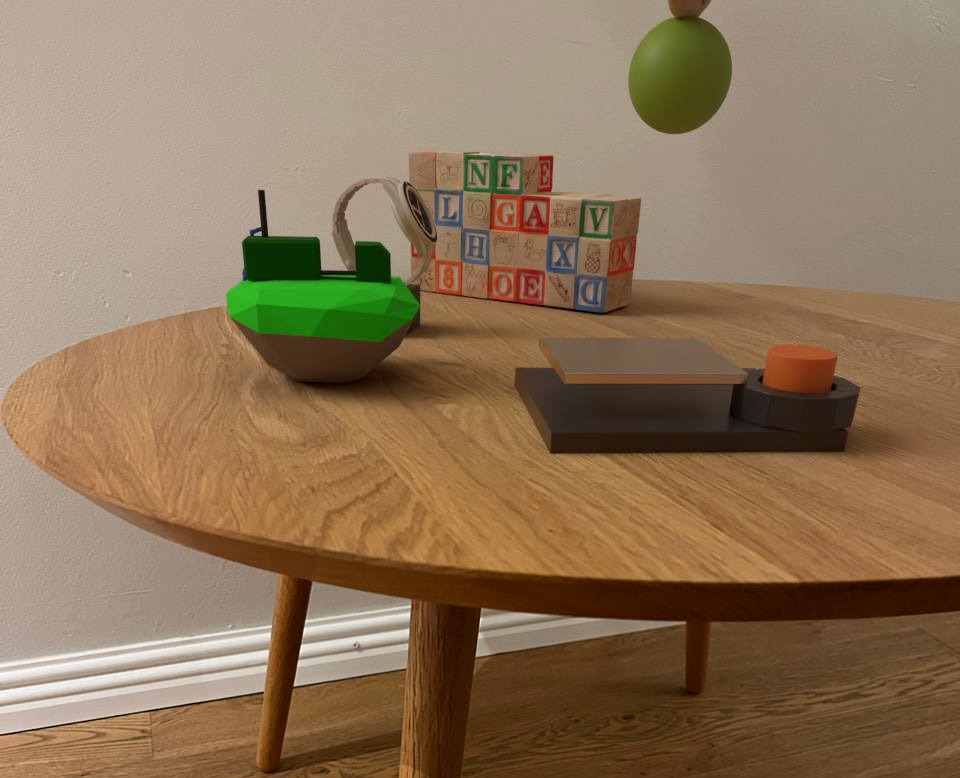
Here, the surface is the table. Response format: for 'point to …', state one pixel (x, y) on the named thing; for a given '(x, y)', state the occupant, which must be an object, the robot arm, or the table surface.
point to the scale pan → (639, 361)
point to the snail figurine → (680, 71)
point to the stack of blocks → (523, 233)
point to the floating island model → (318, 307)
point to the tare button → (800, 368)
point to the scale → (685, 416)
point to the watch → (409, 218)
